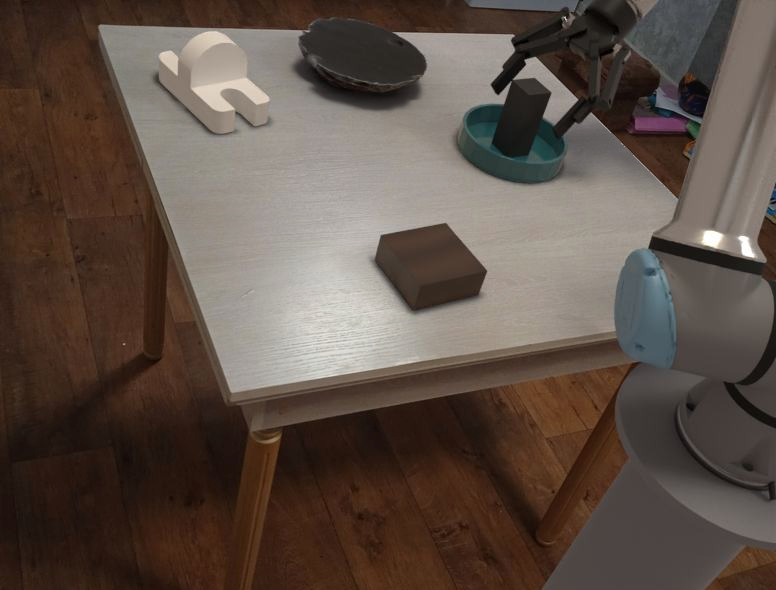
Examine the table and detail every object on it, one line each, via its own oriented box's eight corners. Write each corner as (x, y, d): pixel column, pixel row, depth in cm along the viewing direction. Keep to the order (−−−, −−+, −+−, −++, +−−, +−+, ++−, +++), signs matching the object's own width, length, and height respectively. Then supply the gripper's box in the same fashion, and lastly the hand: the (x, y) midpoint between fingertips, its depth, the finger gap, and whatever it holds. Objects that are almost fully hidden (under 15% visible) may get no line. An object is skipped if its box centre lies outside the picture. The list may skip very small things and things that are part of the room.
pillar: (529, 155, 132) (552, 92, 125) (506, 158, 130) (529, 94, 123) (513, 139, 135) (534, 77, 127) (491, 142, 133) (511, 79, 125)
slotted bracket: (153, 75, 127) (153, 13, 120) (207, 65, 133) (210, 5, 126) (215, 135, 119) (219, 72, 112) (271, 122, 124) (278, 61, 118)
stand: (478, 294, 106) (487, 270, 103) (413, 310, 101) (420, 285, 98) (438, 246, 111) (445, 222, 108) (374, 259, 106) (380, 234, 104)
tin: (581, 175, 132) (589, 156, 130) (496, 189, 124) (503, 169, 122) (520, 118, 142) (526, 99, 139) (437, 128, 133) (442, 108, 131)
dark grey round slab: (401, 48, 151) (407, 21, 147) (437, 112, 137) (445, 84, 133) (282, 40, 144) (286, 12, 140) (308, 107, 130) (312, 77, 126)
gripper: (686, 58, 124) (587, 165, 126) (566, -14, 135) (477, 85, 137) (682, 29, 117) (577, 142, 119) (556, -45, 128) (463, 59, 130)
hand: (523, 111), depth 128 cm, fingers open, 13 cm apart
